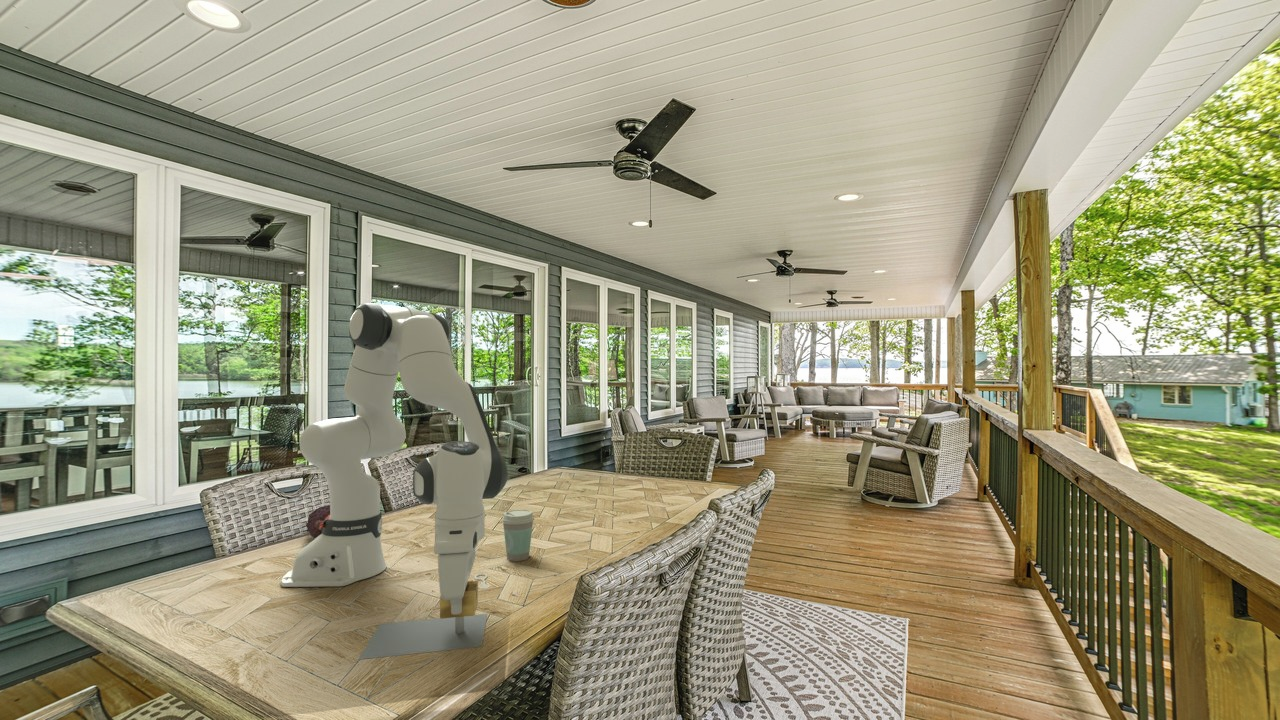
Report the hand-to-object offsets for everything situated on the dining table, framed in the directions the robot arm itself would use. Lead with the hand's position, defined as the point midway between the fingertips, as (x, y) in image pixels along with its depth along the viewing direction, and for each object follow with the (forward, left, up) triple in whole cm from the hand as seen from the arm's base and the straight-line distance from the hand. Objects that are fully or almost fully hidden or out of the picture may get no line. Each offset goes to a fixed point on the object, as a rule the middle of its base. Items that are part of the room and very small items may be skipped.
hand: (459, 603), depth 98 cm
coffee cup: (+10, +43, -7) cm, 44 cm away
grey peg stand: (-5, 0, -7) cm, 9 cm away
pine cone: (-48, +73, -7) cm, 88 cm away
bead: (0, 0, -1) cm, 1 cm away
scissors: (+3, +23, -7) cm, 24 cm away
